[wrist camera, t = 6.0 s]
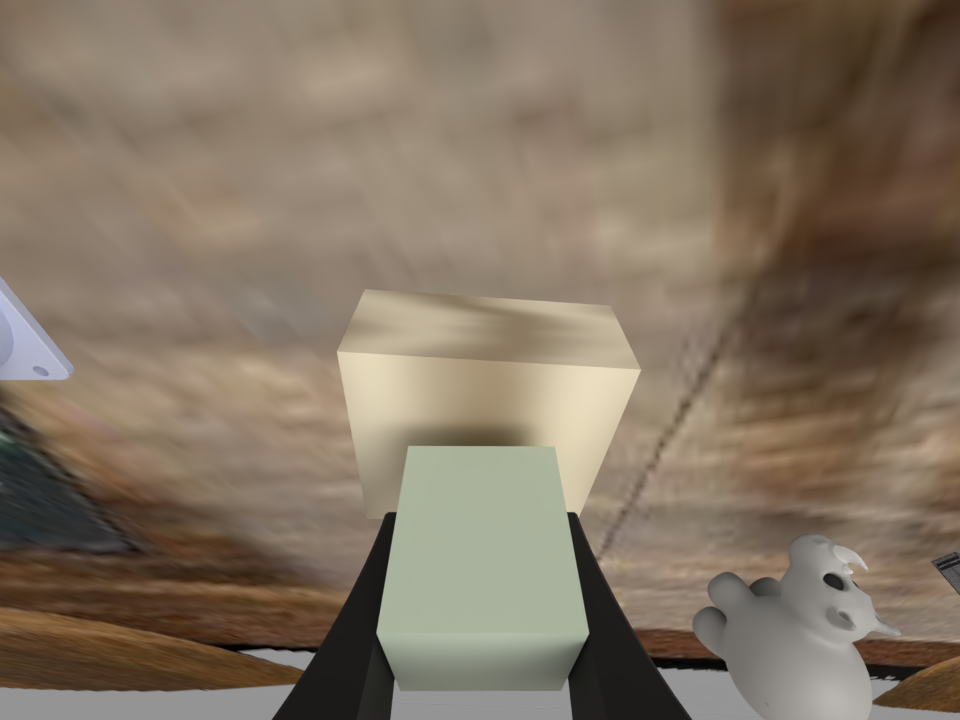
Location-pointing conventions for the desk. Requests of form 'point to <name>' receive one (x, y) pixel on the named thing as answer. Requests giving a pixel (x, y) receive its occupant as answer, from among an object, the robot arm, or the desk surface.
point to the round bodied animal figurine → (796, 635)
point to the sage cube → (482, 573)
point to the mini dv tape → (950, 569)
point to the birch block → (481, 383)
